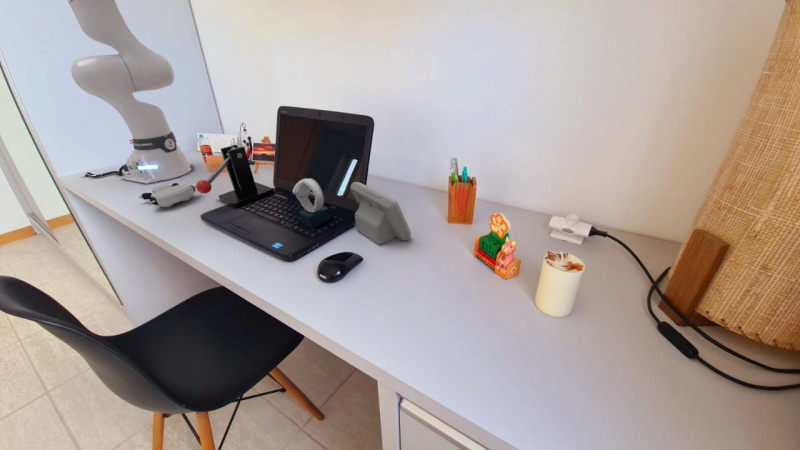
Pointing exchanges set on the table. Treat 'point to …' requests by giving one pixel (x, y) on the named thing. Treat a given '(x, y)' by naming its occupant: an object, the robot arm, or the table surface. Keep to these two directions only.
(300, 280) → the table surface
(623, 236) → the table surface
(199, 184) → the switch lever
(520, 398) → the table surface
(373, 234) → the digital clock
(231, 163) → the switch bracket
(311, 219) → the ring sculpture on base
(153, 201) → the robot toy
